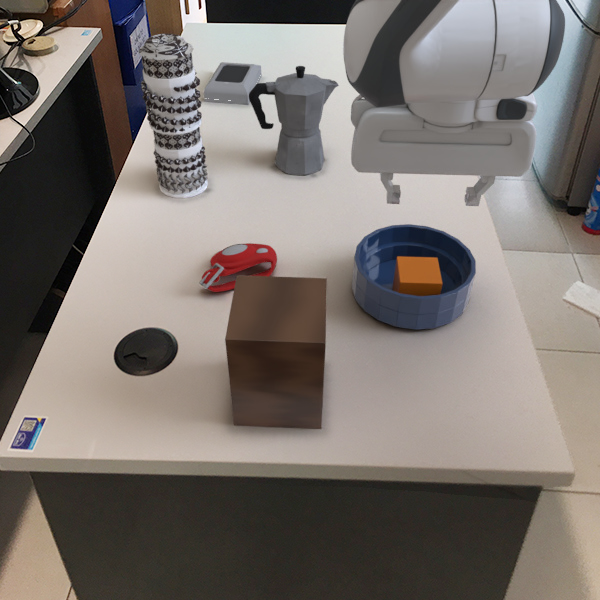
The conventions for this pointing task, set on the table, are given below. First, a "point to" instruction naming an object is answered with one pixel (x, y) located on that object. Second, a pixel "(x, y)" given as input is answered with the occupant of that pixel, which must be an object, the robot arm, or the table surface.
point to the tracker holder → (237, 264)
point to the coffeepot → (296, 119)
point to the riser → (277, 351)
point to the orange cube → (417, 276)
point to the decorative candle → (174, 114)
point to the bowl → (381, 268)
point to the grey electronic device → (232, 83)
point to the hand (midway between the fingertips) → (431, 202)
